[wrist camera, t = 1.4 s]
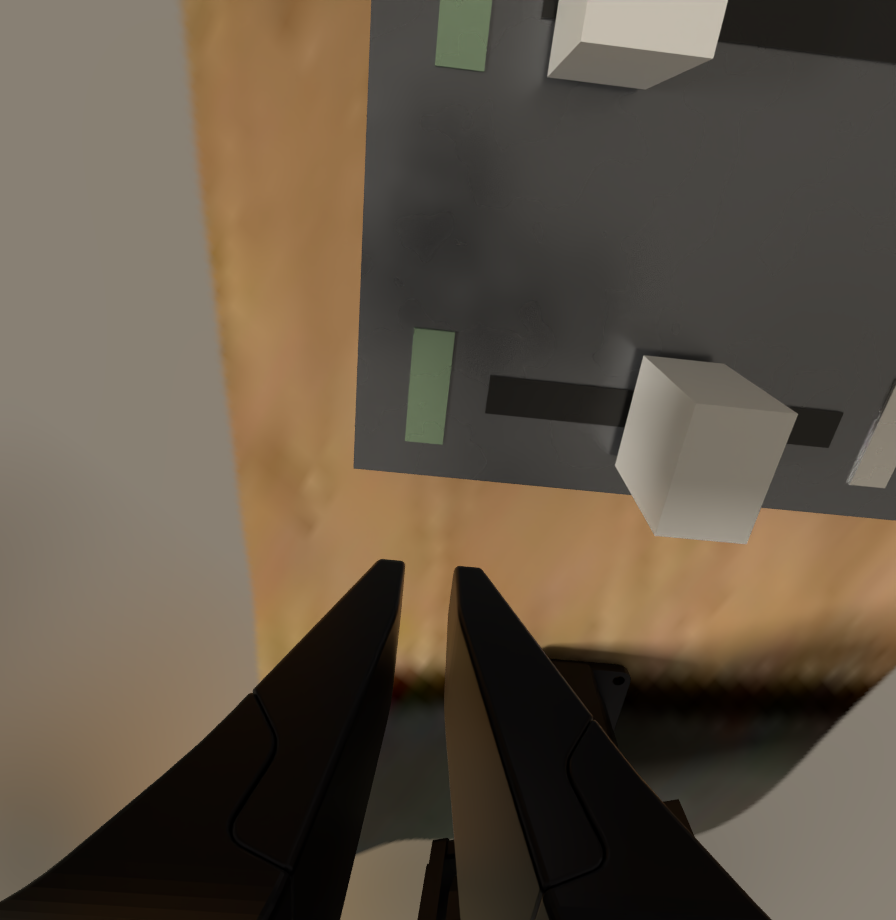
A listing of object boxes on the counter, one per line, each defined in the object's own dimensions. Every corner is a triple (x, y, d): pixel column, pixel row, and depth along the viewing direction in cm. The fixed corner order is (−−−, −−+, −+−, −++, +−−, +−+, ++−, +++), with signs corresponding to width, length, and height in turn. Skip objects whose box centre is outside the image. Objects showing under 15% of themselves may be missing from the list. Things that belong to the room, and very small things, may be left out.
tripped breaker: (688, 472, 18) (746, 544, 15) (614, 465, 18) (654, 535, 15) (724, 363, 17) (798, 414, 13) (643, 355, 17) (695, 403, 13)
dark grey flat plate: (883, 499, 21) (914, 523, 20) (359, 449, 20) (352, 469, 19) (1169, -70, 14) (1250, -98, 13) (387, -181, 13) (379, -225, 12)
